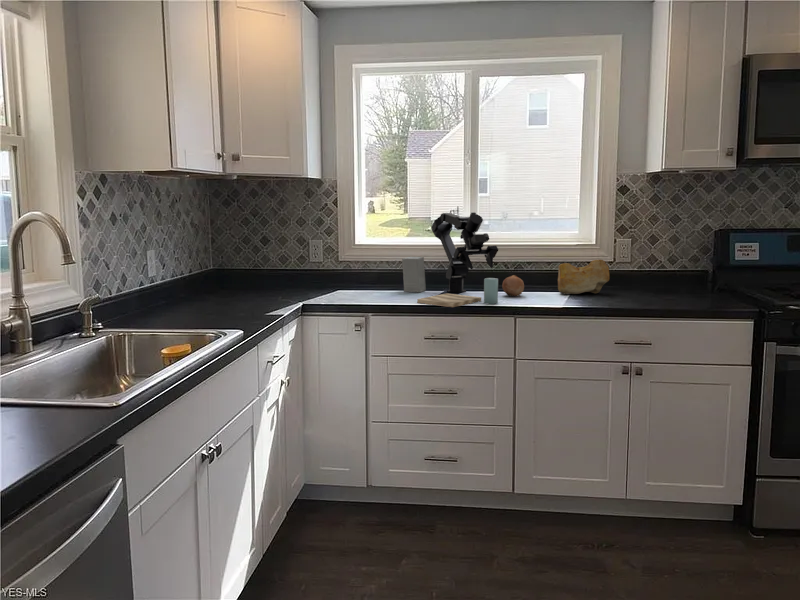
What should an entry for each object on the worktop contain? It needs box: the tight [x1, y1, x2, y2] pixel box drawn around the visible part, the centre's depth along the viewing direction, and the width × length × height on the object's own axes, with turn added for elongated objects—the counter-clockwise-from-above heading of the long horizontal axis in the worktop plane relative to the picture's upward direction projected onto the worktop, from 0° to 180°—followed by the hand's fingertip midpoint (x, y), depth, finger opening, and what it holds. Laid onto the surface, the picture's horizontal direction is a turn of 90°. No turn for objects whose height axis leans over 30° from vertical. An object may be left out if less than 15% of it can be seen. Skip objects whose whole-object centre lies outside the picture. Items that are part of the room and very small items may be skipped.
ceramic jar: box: [483, 277, 499, 305], centre depth 272 cm, size 6×6×10 cm
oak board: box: [417, 292, 482, 308], centre depth 276 cm, size 20×18×2 cm
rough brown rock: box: [557, 259, 611, 295], centre depth 298 cm, size 23×17×15 cm
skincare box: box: [401, 256, 427, 293], centre depth 304 cm, size 8×7×16 cm
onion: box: [501, 274, 525, 297], centre depth 290 cm, size 10×9×10 cm
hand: (482, 268), depth 278 cm, fingers open, 9 cm apart
